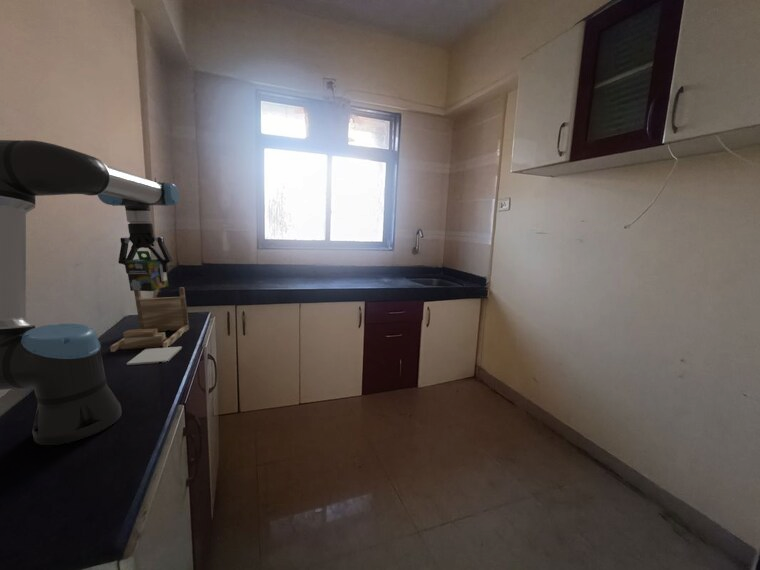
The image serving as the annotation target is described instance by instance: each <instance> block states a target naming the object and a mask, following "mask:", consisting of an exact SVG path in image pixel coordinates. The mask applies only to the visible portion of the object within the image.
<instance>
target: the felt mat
mask: <svg viewBox="0 0 760 570" xmlns="http://www.w3.org/2000/svg"><path fill="white" fill-rule="evenodd" d="M182 348H183V346H169V347H167V348H163V347H152V348H144V350H142V351H141V352H140V353H138V354H137V355H136V356H134V357H133V358H132V359H130V360H129V361H127V362H126V366H135V365H136V366H137V365H145V364H147V365H148V364H159V362H162V363H168V362H169V361H170V360H171V359H172V358H173V357H174V356H176V354H178V353H179V351H181V350H182ZM167 361H168V362H167Z"/></svg>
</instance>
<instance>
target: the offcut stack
mask: <svg viewBox="0 0 760 570" xmlns="http://www.w3.org/2000/svg"><path fill="white" fill-rule="evenodd" d="M122 334H123V338H124V342H122V343H121V344H120V348H119V349H120V350H129V349H143V348H144V349H148V348H161V347H160V346H162V347H163V342H165V341H166V340H167V339H168V337H167V336H166V331H161V332H159V331H157V329H139V328H137V329H127V330H126V331H123V332H122Z"/></svg>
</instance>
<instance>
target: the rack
mask: <svg viewBox="0 0 760 570" xmlns="http://www.w3.org/2000/svg"><path fill="white" fill-rule="evenodd" d="M133 293H134V300H135V305H136V310H137V312H136V313H137V317H138V324H139V328H138V329H157V331H158V332H166V331H167V330H170V331H175V332H174V333H173V334H172V335H171V336H169V337H167V340H166V341H165V342H163V346H162V348H167V347H168V346H169V347H171V345H172V344H174V343H175V341H177V340H178V339H179V338H181V336H182V334H183V333H184V332H185V333H186V332H188V330H189V329H190V321H189V320H190V319H189V313H188V305H187V299H186V291H185V287H184V286H183V287H182V286H181V287H178V293H179V296H169V297H145V298H142V294H141V291H133ZM185 333H184V334H185ZM184 334H183V335H184ZM122 342H124V337H123V338H122V339H120V340H118V341H117V342H115V343H113V344H111V345H110V346H109V349H110V353H114V352H116V351H118V350H120V349H121V348H120V344H121V343H122Z"/></svg>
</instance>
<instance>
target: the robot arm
mask: <svg viewBox="0 0 760 570" xmlns="http://www.w3.org/2000/svg"><path fill="white" fill-rule="evenodd" d="M60 195H62V196H64V195H85V196H91V197H92V196H97V197H98V199H99V200H100V201H101V203H103V204H105V205H109V206H113V207H115V206H122V207H123V206H124V208H125V215H126V221H127V223H128V224H127V227H128V228H127V229H128V233H129V236H128V237H126V236H125V237H120V239H119V240H120V243H121V244H120V251H119V256H118V261H117V262H118V264H119V265H124V267H125V272H126V274H127V275H128V273H127V267H126V261H130V260H134V259H135V257H136V254H137V251H139V249H142V248H143V249H149V250H150V251H151V253H153V255H154V256H155V258H157V259H158V260H159V261H160V262H161V264H160V265H159V267H160V274H161V280H162V281H166V280H167V278H168V276H167V277H166V272H167V273H168V272H169V268H168V264H169V263H172V262H173V259H172V256H171V255H170V253H169V250H168V248H167V246H166V244H165V238H164V237H163V236H155V233H154V226H153V223H151V222H153V219H152V214H151V213H152V211H151V206H166V207H168V206H176V205H177V204H179V201H180V192H179V189H178V187H177V186H176V184H174V183H171V182H166V181H165V182H158V181H155V180H150V179H148V178H145V177H143V176H139V175H136V174H132V173H130V172H127V171H125V170H121V169H118V168H116V167H113V166H109V165H107V164H105V162H103V161H102V160H100V159H99V158H97V157H95V156H92V155H89V154H87V153H83V152H80V151H77V150H75V149H72V148H68V147H64V146H61V145H58V144H55V143H51V142H46V141H41V140H40V141H39V140H33V139H32V140H31V139H27V140H26V139H23V140H16V139H15V140H13V139H10V140H9V139H7V140H5V139H0V391H1V390H15V389H33V390H34V394H35V397H36V401H37V407H36V413H35V416H34V421H33V425H32V432H31V433H32V436H33V437H32V438H33V441H34V443H35V442H36V443H38V444H41V445H57V444H64V443H69V442H73V441H77V440H80V439H83V438H85V437H88V436H91V435H93V434H95V433H97V434H99V433H101V432H102V431H101V430H103V431H105V430H107V429H108V428H110V427H112V424H113V425H114V424H115V423H116V422H118V420H120V418H121V416H122V414H123V413H122V410H123V409H122V406H121V403H120V401H119V400H118V399H117V397H116V396H115V394H114V393H113V391H112V389H110V387H109V386H108V383H107V378H106V373H105V368H104V362H103V358H102V351H101V346H102V345H101V342H100V341H99V338H98V334H97V332H96V331H95V329H94V328H92V326H88V325H87V324H86V325H85V324H81V323H58V324H47V325H42V326H38V327H36V324H35V323H33V322H32V321H31V320H29V319H28V318H27V317H26V316H27V310H26V309H27V308H26V307H27V306H26V305H27V299H26V298H27V296H26V295H27V291H26V289H27V287H26V285H27V283H26V282H27V281H26V280H27V278H26V277H27V275H26V274H27V269H26V268H27V264H26V263H27V261H26V260H27V255H26V254H27V246H26V245H27V240H26V239H27V238H26V237H27V226H26V225H27V218H26V217H27V214H28V213H29V212H31V211H32V210H34V209H35V208H36V197H40V196H43V197H44V196H60ZM155 241H156V243H157V244H158V247H159V249H160V251H159V249H158V247H157V246H156V244H155ZM129 243H132V245H131V247H130V250H129ZM128 251H129V252H128ZM109 426H110V427H109ZM107 427H108V428H107ZM106 428H107V429H106ZM104 429H105V430H104ZM100 431H101V432H100ZM98 432H99V433H98ZM95 435H96V434H95ZM93 436H94V435H93ZM91 437H92V436H91ZM88 438H89V437H88ZM83 440H84V439H83ZM80 441H81V440H80ZM77 442H78V441H77ZM36 443H35V444H36ZM73 443H74V442H73ZM38 444H37V445H38ZM69 444H70V443H69ZM41 445H40V446H41Z"/></svg>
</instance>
